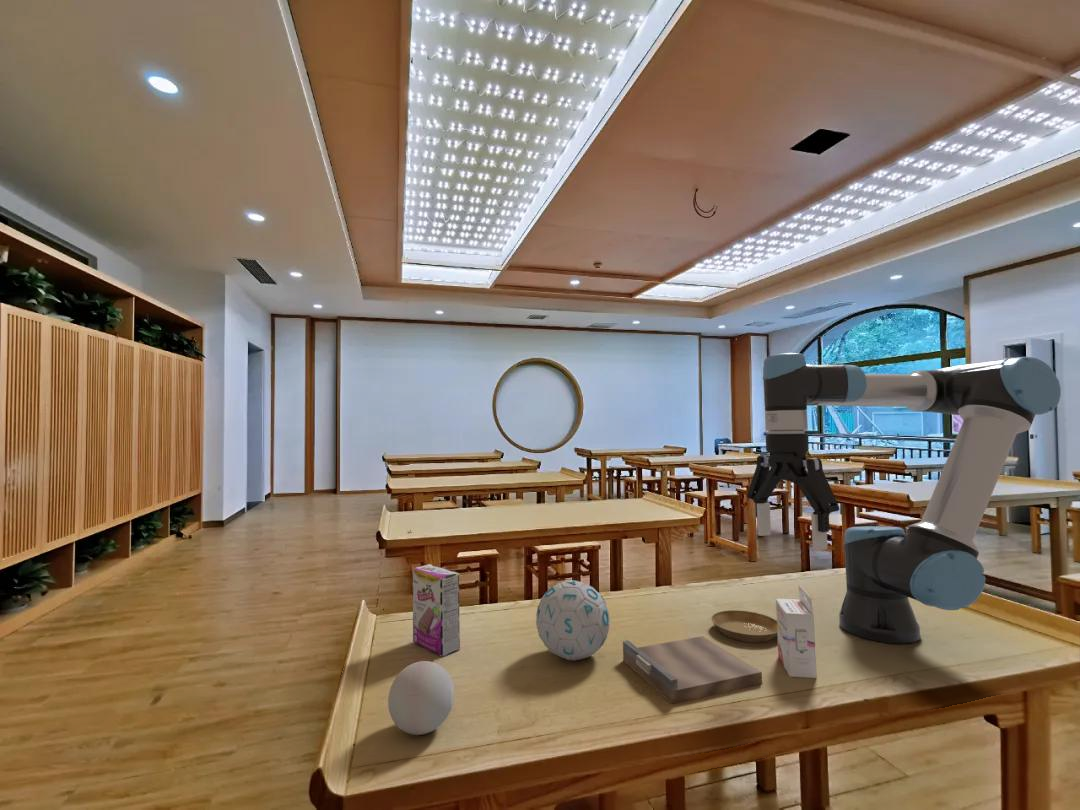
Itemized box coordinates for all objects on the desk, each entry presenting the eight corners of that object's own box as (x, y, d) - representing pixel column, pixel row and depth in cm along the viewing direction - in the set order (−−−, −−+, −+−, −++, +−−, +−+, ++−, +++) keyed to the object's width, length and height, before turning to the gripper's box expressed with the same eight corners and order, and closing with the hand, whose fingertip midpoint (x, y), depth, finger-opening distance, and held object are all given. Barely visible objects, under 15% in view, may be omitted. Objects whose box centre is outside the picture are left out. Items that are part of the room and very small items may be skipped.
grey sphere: (396, 713, 84) (396, 651, 84) (458, 710, 84) (457, 649, 85) (380, 751, 74) (380, 681, 74) (450, 747, 74) (450, 678, 75)
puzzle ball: (557, 680, 94) (555, 598, 94) (525, 649, 107) (523, 577, 108) (625, 663, 100) (623, 586, 101) (586, 635, 114) (585, 568, 114)
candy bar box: (411, 643, 111) (410, 567, 112) (430, 636, 115) (429, 563, 116) (441, 658, 104) (441, 577, 104) (461, 650, 107) (460, 572, 108)
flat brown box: (702, 645, 107) (702, 627, 108) (762, 683, 91) (761, 661, 91) (620, 661, 101) (620, 641, 101) (668, 704, 85) (668, 681, 85)
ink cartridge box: (776, 656, 102) (773, 582, 102) (803, 658, 101) (800, 583, 101) (788, 677, 93) (785, 596, 94) (817, 679, 92) (814, 597, 93)
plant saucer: (738, 616, 124) (738, 605, 124) (796, 636, 112) (795, 624, 112) (698, 629, 116) (697, 618, 116) (755, 653, 104) (754, 640, 104)
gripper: (727, 432, 110) (730, 531, 109) (826, 433, 86) (831, 558, 85) (755, 432, 112) (758, 528, 111) (858, 432, 89) (864, 554, 88)
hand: (790, 542), depth 98 cm, fingers open, 13 cm apart
